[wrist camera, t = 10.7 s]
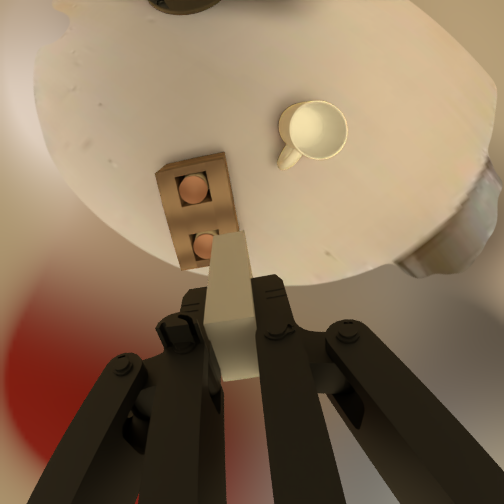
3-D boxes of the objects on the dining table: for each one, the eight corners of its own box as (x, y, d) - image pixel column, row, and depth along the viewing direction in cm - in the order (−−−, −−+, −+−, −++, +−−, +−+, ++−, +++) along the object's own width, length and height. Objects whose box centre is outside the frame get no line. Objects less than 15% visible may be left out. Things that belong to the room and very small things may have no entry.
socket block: (166, 164, 47) (154, 173, 40) (224, 152, 47) (223, 158, 40) (187, 249, 54) (181, 270, 47) (241, 239, 54) (242, 260, 47)
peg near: (184, 169, 47) (176, 179, 40) (208, 165, 47) (204, 173, 40) (189, 192, 49) (182, 206, 42) (212, 188, 49) (209, 200, 42)
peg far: (195, 220, 51) (190, 237, 44) (218, 216, 51) (216, 232, 44) (200, 241, 53) (196, 260, 46) (223, 237, 53) (222, 256, 46)
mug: (293, 177, 50) (307, 192, 40) (254, 148, 47) (259, 157, 38) (335, 123, 46) (359, 127, 37) (297, 93, 43) (313, 88, 34)
